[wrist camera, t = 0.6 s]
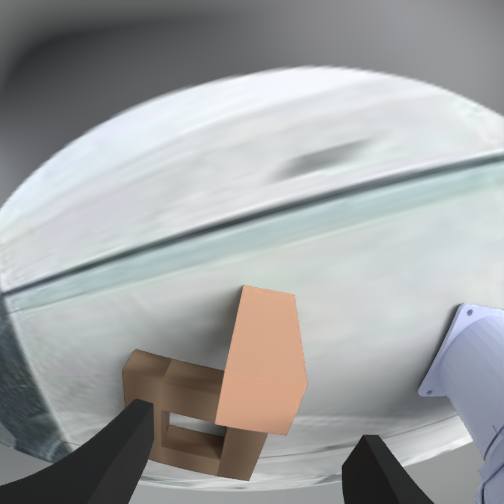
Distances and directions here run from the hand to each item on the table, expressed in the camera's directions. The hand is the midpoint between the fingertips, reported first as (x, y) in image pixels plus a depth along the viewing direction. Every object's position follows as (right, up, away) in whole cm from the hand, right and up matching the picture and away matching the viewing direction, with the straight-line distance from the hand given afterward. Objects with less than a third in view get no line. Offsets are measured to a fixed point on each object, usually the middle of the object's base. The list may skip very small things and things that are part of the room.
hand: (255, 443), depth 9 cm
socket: (-4, -6, +12) cm, 14 cm away
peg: (+1, +3, +9) cm, 10 cm away
